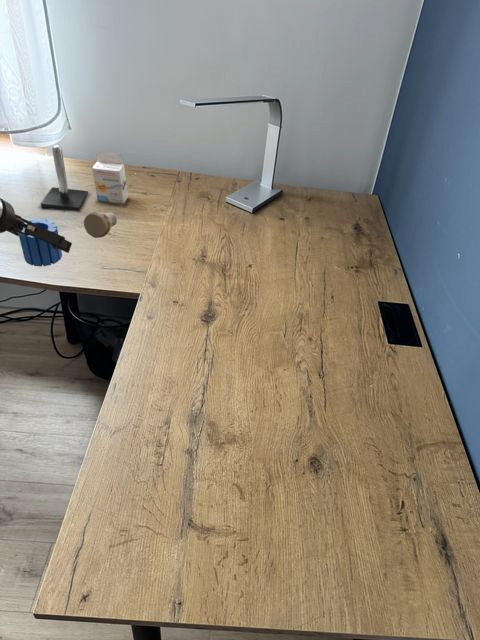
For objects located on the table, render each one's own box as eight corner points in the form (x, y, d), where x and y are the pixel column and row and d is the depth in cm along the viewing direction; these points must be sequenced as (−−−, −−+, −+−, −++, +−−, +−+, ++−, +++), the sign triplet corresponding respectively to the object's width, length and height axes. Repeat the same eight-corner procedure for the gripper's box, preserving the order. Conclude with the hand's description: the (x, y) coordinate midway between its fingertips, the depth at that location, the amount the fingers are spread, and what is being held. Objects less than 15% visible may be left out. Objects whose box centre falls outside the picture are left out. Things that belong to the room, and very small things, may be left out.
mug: (125, 224, 149) (118, 207, 139) (106, 250, 146) (98, 234, 137) (103, 212, 149) (95, 194, 140) (84, 238, 147) (75, 221, 137)
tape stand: (41, 208, 151) (30, 150, 139) (53, 191, 159) (42, 136, 147) (78, 212, 152) (70, 155, 140) (88, 195, 160) (81, 140, 148)
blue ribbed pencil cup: (20, 269, 128) (11, 235, 121) (32, 250, 134) (25, 217, 128) (56, 273, 129) (50, 239, 122) (67, 254, 135) (61, 220, 128)
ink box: (97, 203, 157) (89, 157, 146) (102, 196, 160) (94, 150, 150) (124, 206, 157) (117, 161, 146) (129, 198, 160) (122, 153, 150)
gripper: (-64, 212, 111) (1, 241, 132) (31, 243, 106) (83, 267, 127) (-53, 180, 111) (11, 214, 132) (43, 210, 106) (93, 240, 127)
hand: (46, 240), depth 130 cm, fingers open, 13 cm apart
